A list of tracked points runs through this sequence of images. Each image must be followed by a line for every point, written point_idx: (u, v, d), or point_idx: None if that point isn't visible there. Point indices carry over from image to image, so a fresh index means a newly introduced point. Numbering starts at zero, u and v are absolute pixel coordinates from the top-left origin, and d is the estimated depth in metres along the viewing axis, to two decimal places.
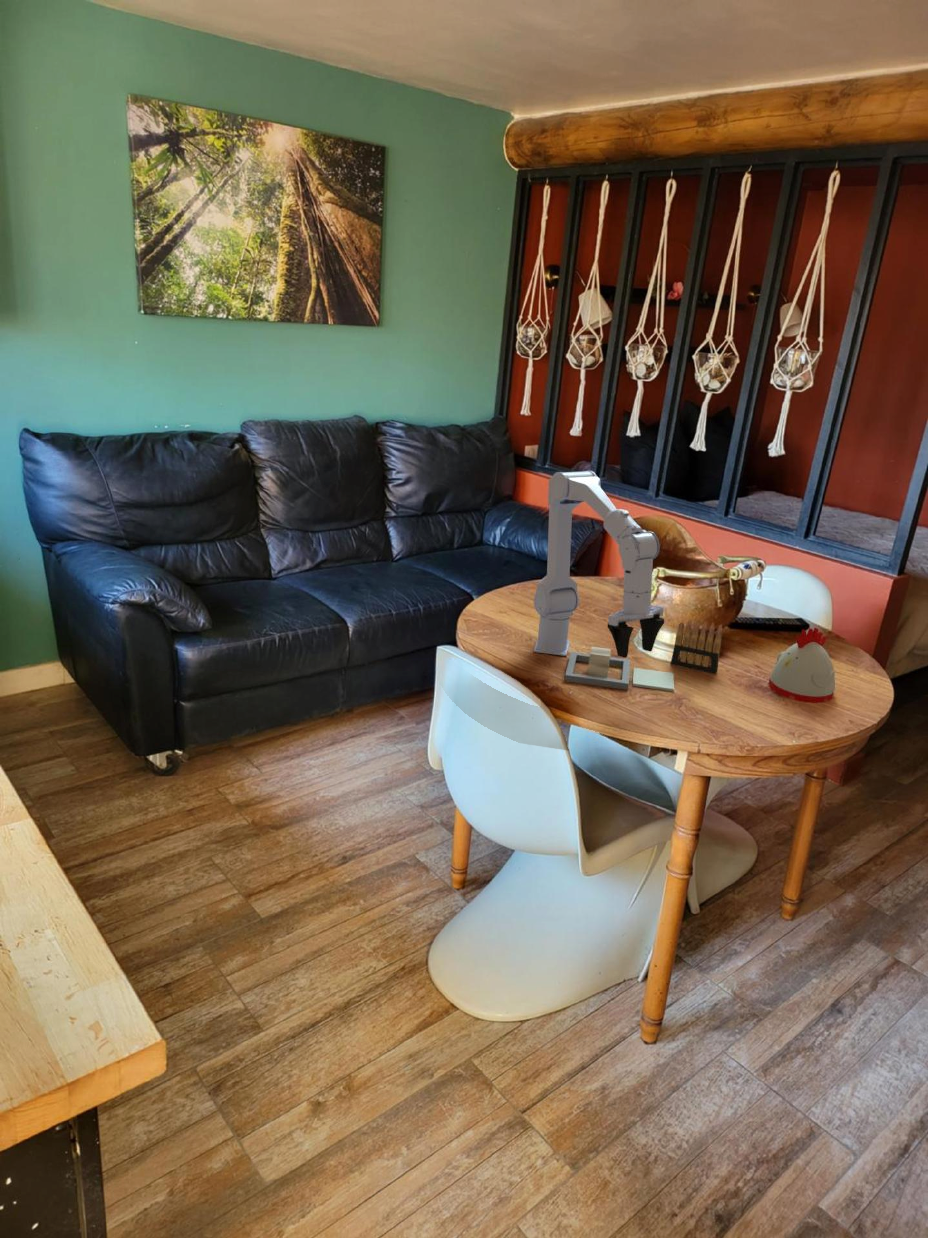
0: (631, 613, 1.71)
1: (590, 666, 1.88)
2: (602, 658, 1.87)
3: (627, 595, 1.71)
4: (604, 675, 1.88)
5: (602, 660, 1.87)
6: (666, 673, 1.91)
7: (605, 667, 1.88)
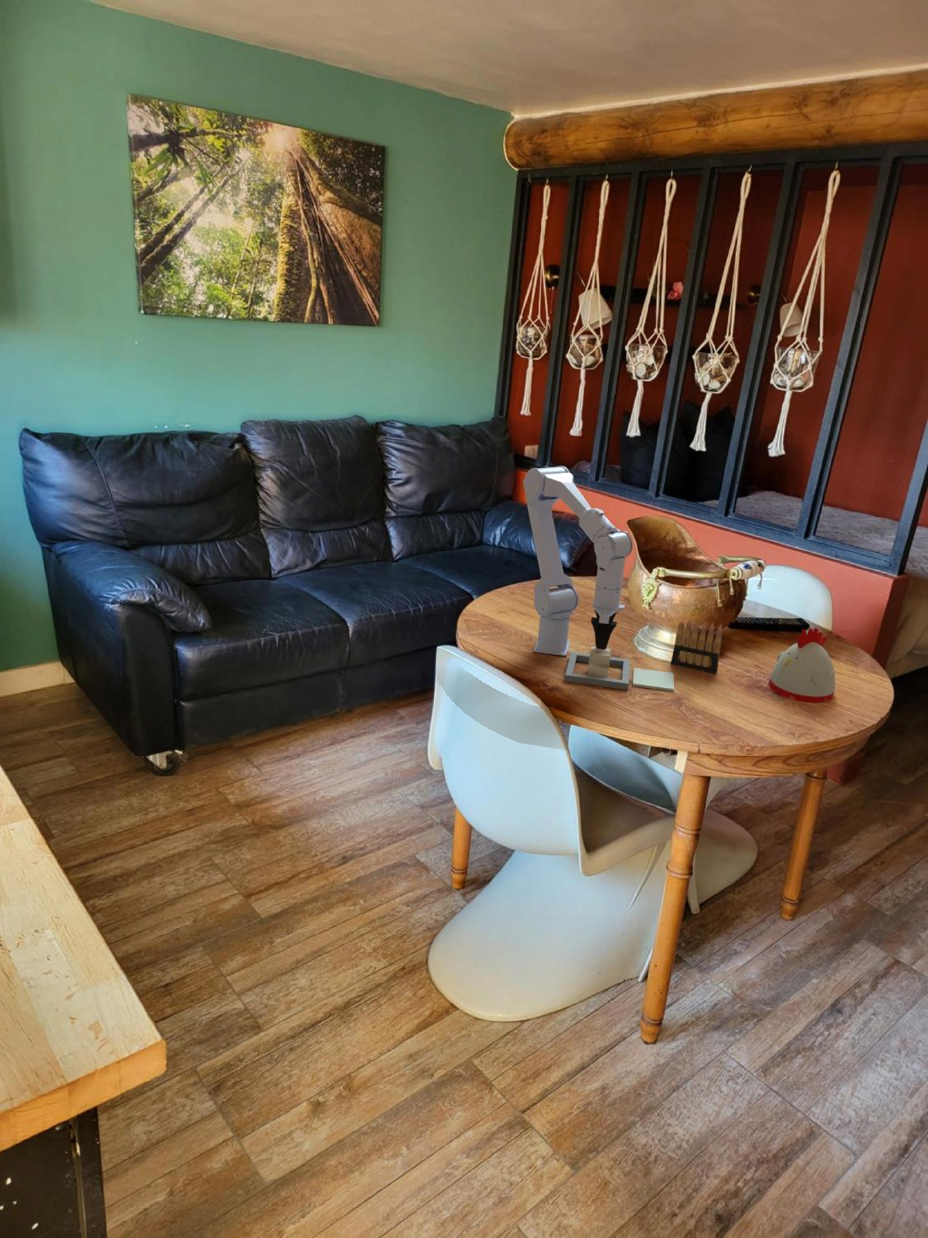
0: (610, 608, 1.82)
1: (590, 666, 1.88)
2: (602, 658, 1.87)
3: (607, 592, 1.81)
4: (604, 675, 1.88)
5: (602, 660, 1.87)
6: (666, 673, 1.91)
7: (605, 667, 1.88)
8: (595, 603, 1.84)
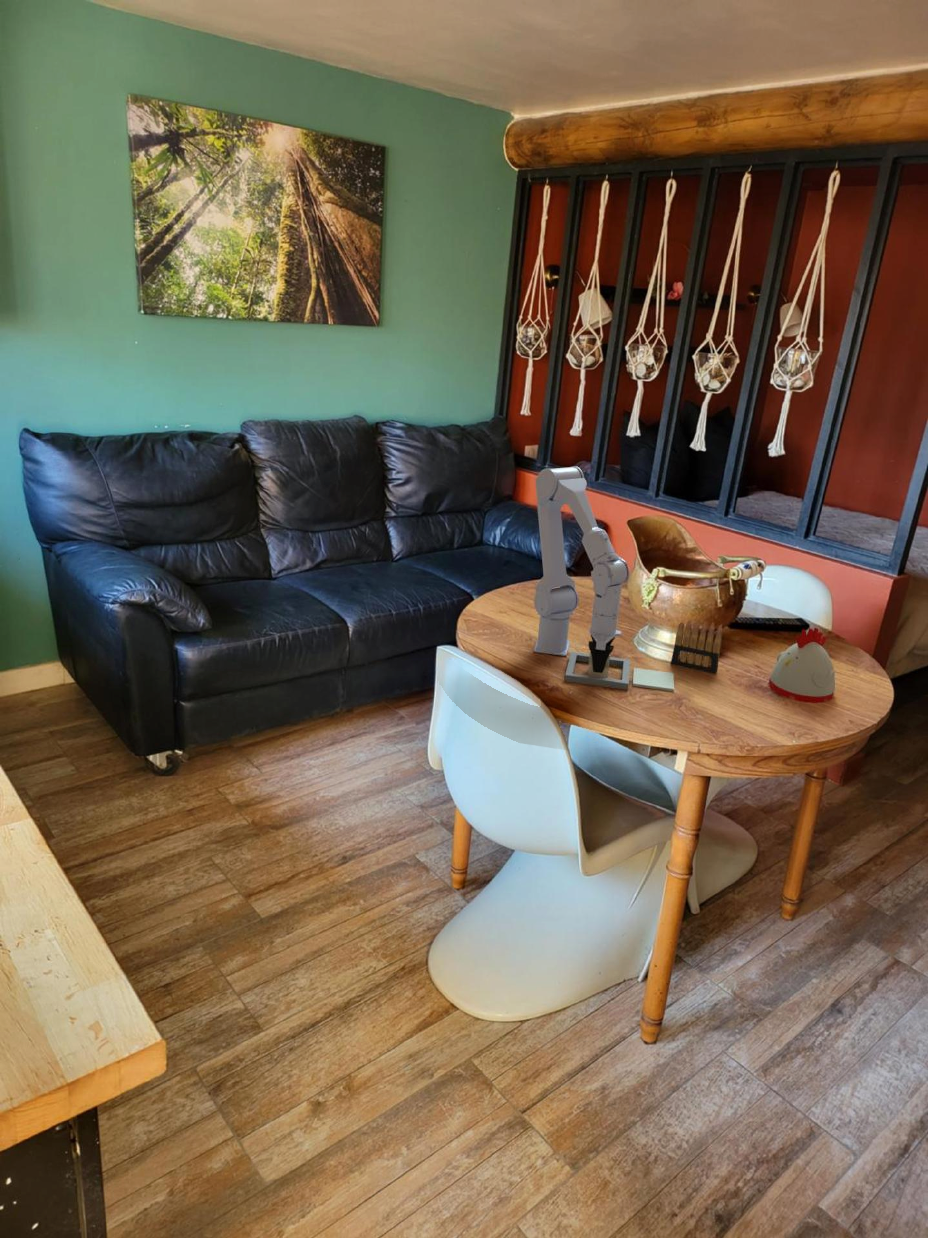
0: (607, 634, 1.85)
1: (590, 666, 1.88)
2: None
3: (604, 619, 1.83)
4: (604, 675, 1.88)
5: None
6: (666, 673, 1.91)
7: (605, 667, 1.88)
8: (592, 629, 1.86)
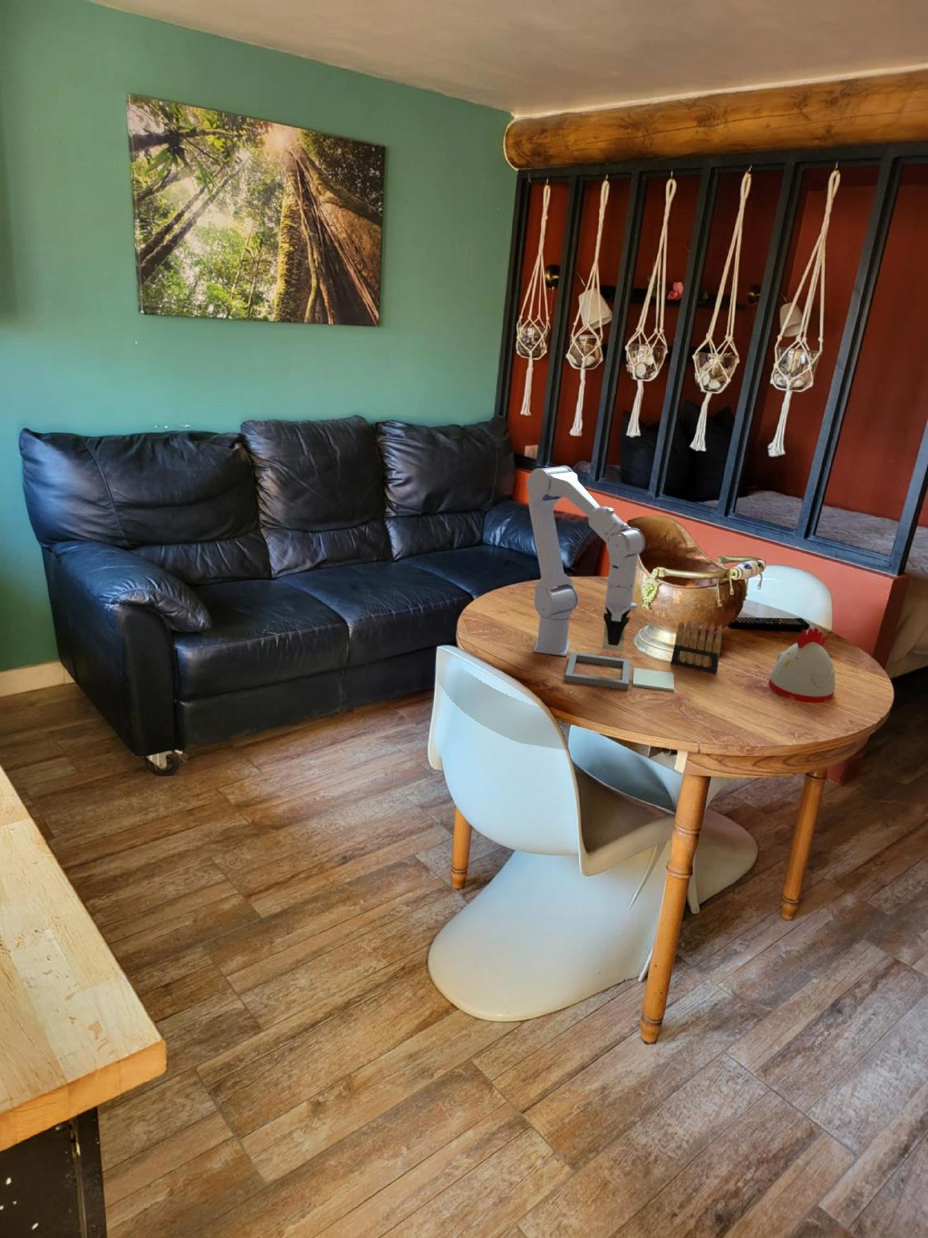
0: (623, 606, 1.82)
1: (605, 639, 1.85)
2: None
3: (619, 590, 1.80)
4: (619, 648, 1.85)
5: None
6: (666, 673, 1.91)
7: (620, 639, 1.85)
8: (607, 601, 1.83)
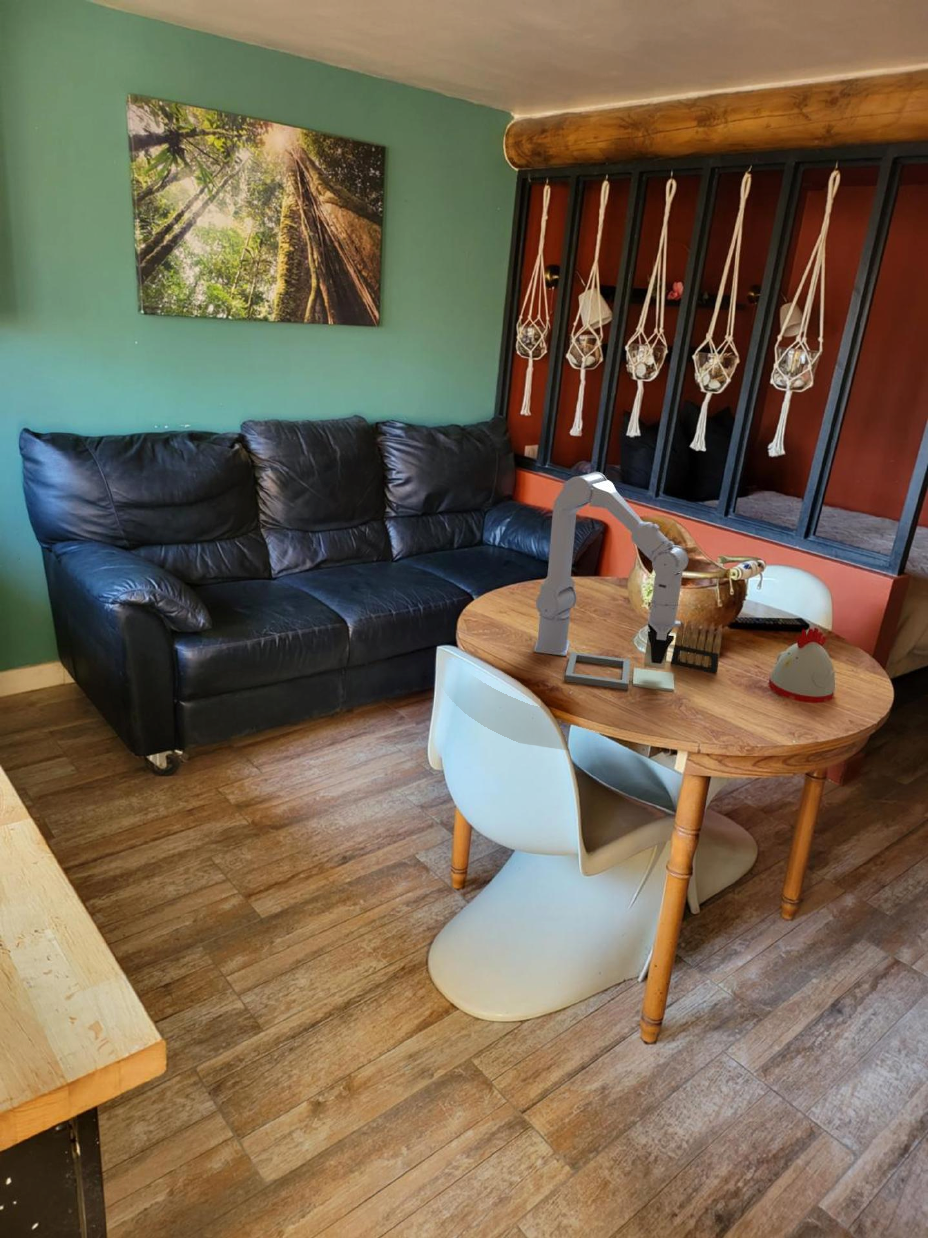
0: (667, 624, 1.81)
1: (647, 657, 1.85)
2: None
3: (664, 608, 1.80)
4: (661, 666, 1.85)
5: None
6: (666, 673, 1.91)
7: None
8: (651, 619, 1.82)
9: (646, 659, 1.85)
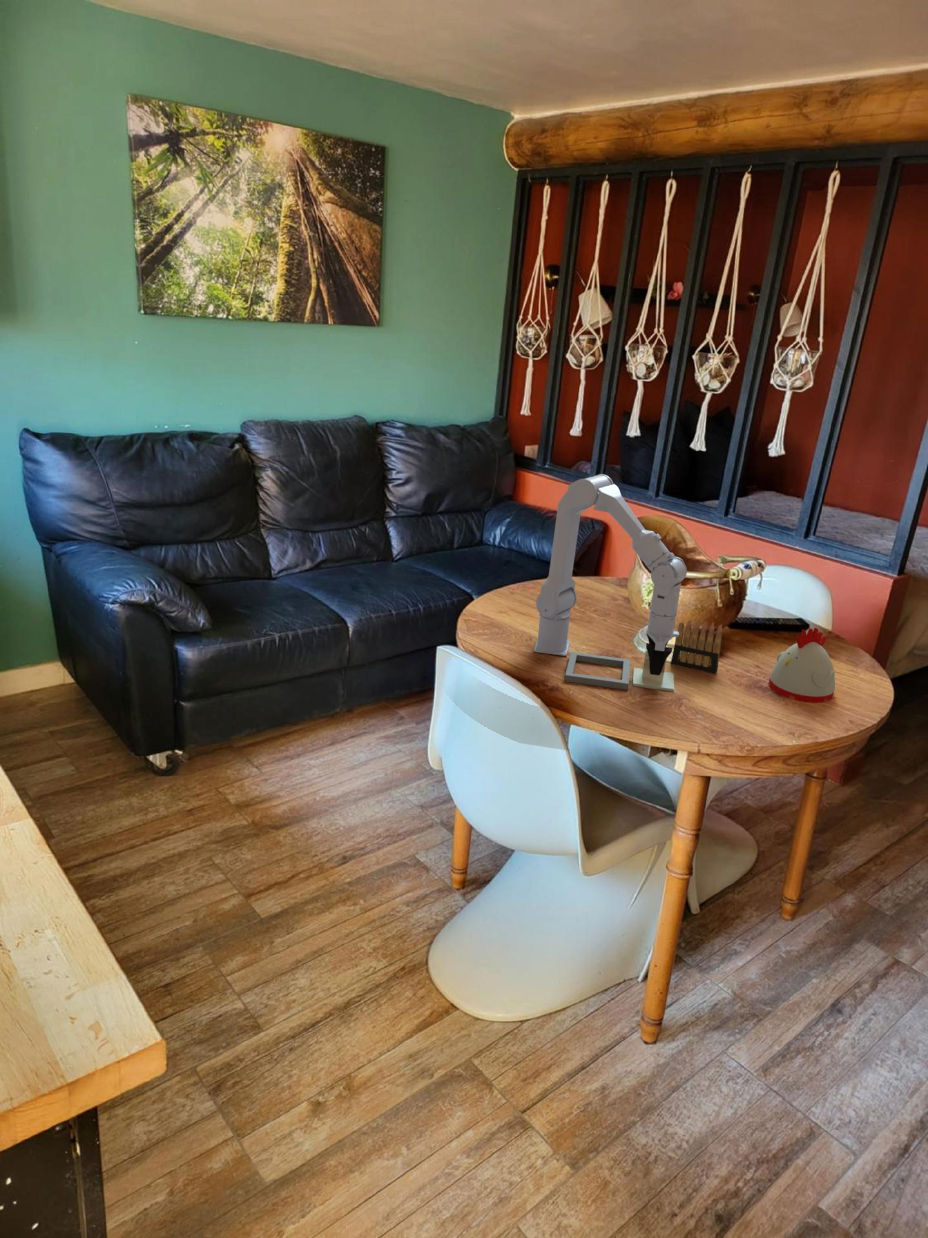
0: (665, 635, 1.82)
1: (645, 671, 1.86)
2: None
3: (662, 619, 1.81)
4: (659, 680, 1.86)
5: None
6: (666, 673, 1.91)
7: (661, 672, 1.85)
8: (649, 629, 1.83)
9: (644, 673, 1.86)
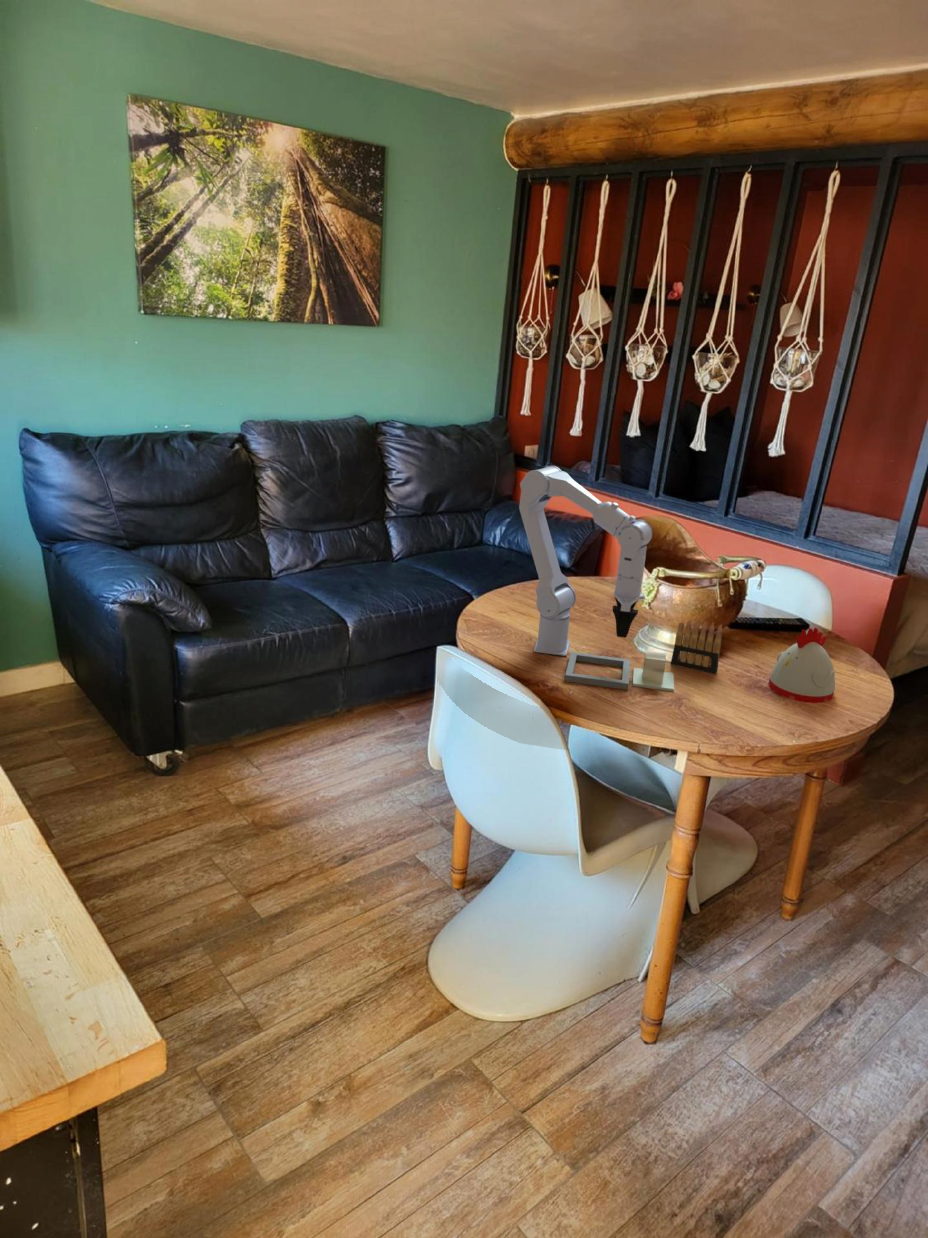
0: (631, 597, 1.85)
1: (645, 671, 1.86)
2: (658, 663, 1.85)
3: (628, 581, 1.84)
4: (659, 680, 1.86)
5: (658, 665, 1.85)
6: (666, 673, 1.91)
7: (661, 672, 1.85)
8: (616, 592, 1.87)
9: (644, 673, 1.86)
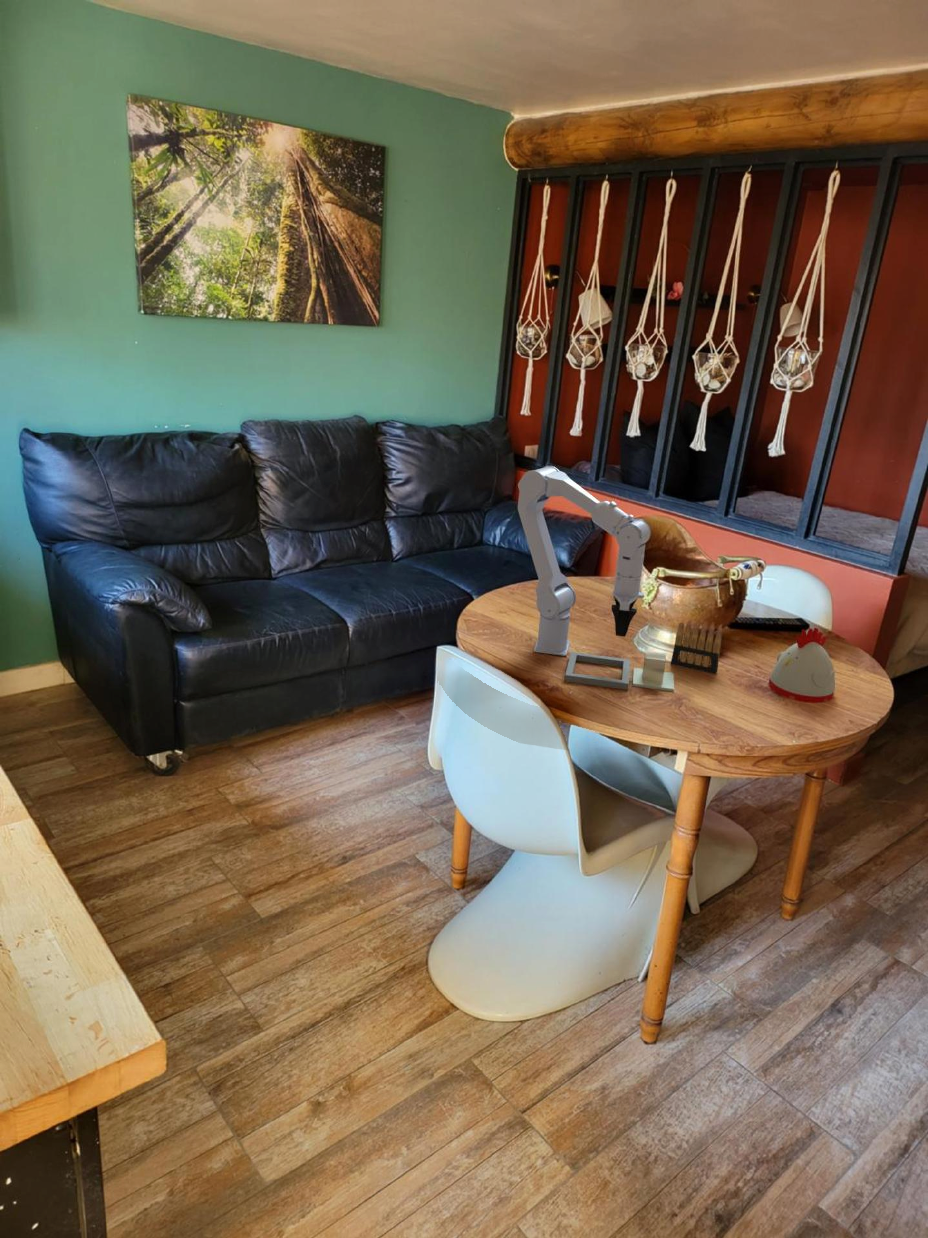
0: (630, 595, 1.86)
1: (645, 671, 1.86)
2: (658, 663, 1.85)
3: (627, 580, 1.84)
4: (659, 680, 1.86)
5: (658, 665, 1.85)
6: (666, 673, 1.91)
7: (661, 672, 1.85)
8: (615, 591, 1.87)
9: (644, 673, 1.86)
